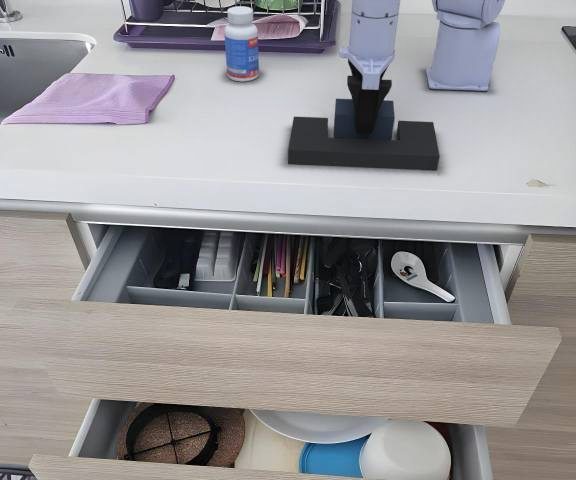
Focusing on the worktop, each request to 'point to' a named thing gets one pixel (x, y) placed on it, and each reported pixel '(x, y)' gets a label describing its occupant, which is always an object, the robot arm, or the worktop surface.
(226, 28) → the pill bottle
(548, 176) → the worktop surface
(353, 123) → the dark blue block
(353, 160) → the black u-shaped block
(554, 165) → the worktop surface
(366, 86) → the robot arm
